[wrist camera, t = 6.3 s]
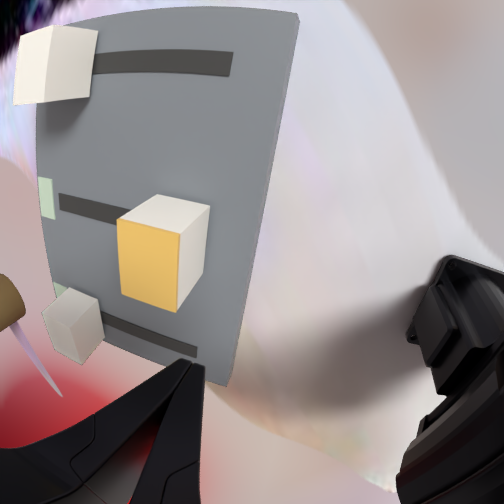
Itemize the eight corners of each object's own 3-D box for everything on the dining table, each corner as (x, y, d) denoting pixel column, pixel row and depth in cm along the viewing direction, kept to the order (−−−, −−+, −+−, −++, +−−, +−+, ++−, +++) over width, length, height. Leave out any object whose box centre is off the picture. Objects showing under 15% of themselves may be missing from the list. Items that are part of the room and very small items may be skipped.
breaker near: (98, 30, 12) (53, 24, 9) (89, 97, 14) (43, 102, 10) (63, 38, 12) (20, 36, 9) (56, 98, 14) (13, 105, 11)
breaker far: (97, 299, 20) (70, 327, 17) (105, 337, 22) (82, 365, 19) (69, 287, 21) (41, 312, 18) (78, 324, 23) (54, 349, 20)
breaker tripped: (210, 205, 15) (178, 235, 12) (203, 273, 17) (175, 313, 14) (157, 194, 15) (116, 219, 12) (155, 259, 17) (121, 294, 14)
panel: (299, 21, 11) (296, 12, 10) (231, 373, 23) (226, 387, 22) (60, 32, 13) (44, 30, 12) (71, 311, 25) (61, 321, 24)
